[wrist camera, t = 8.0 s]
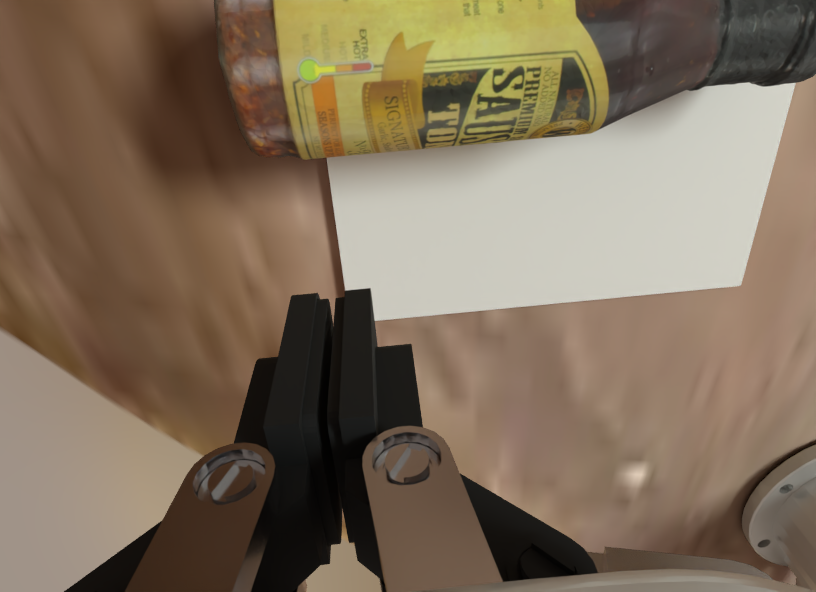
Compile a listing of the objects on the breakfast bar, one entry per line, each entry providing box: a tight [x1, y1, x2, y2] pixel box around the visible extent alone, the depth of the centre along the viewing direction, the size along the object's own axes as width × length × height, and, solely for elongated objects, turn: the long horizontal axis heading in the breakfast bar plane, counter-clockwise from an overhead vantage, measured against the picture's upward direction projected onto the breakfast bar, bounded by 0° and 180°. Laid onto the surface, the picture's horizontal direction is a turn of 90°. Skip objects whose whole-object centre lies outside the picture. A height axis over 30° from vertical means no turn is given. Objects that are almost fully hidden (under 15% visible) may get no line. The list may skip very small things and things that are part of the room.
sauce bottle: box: [214, 0, 816, 160], centre depth 19 cm, size 7×6×20 cm
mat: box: [327, 82, 796, 321], centre depth 24 cm, size 16×20×1 cm
